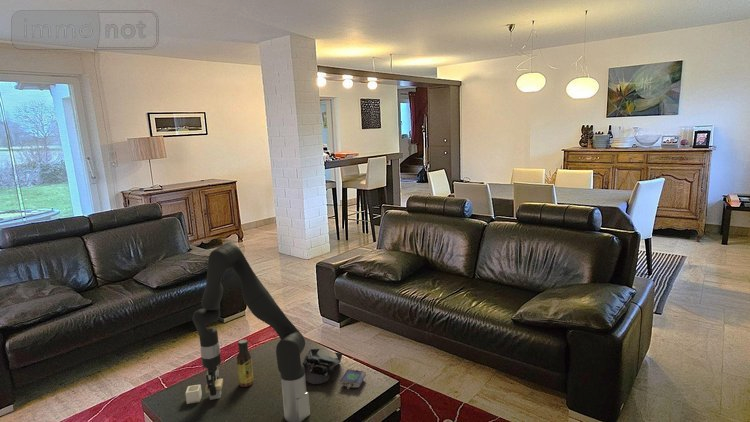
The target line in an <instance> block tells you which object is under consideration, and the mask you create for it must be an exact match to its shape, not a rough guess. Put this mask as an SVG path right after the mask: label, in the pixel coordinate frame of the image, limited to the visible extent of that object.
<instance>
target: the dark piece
mask: <svg viewBox="0 0 750 422" xmlns="http://www.w3.org/2000/svg"><path fill="white" fill-rule="evenodd" d="M320 350H321V349H320V348H312V349H311V348H310V349H309V351H308V352H307V354H306V355H305V356H304V358H303V361H301V363H302V364H303V365H304V367H305V378H306V383H310V384H311V385H320V384H323V383H326V382H329V380H330V378H331V374H332V373H333V372H335V367H336V366H338V365H339V364H341V362H342V357H343V353H341V352H334V354H335V355H336V357H332V356H331V355H323V354H319V353H318V352H319V351H320Z"/></svg>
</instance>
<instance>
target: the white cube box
mask: <svg viewBox="0 0 750 422" xmlns="http://www.w3.org/2000/svg"><path fill="white" fill-rule="evenodd" d="M202 396H203V393H202V384H194V385H188V386H187V387H186V391H185V402H186V405H189V404H197V403H200V402H201V399H202Z"/></svg>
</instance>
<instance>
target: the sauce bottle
mask: <svg viewBox="0 0 750 422" xmlns="http://www.w3.org/2000/svg"><path fill="white" fill-rule="evenodd" d="M248 343H249V342H248V340H247V339H241V340H239V341H237V346H238V353H237V356H236V364H237V365H236V367H237V377H238V384H239V386H240V387H241V388H246V387H247V388H248V387H250V386H252V385H253V383H254V371H253V369H254V368H253V358H252V356H251V354H250V351H249V348H248V346H249V345H248Z"/></svg>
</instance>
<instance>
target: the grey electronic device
mask: <svg viewBox="0 0 750 422" xmlns="http://www.w3.org/2000/svg"><path fill="white" fill-rule="evenodd" d="M366 376H367V372H366V371H364V370H358V369H356V370H354V369H349V368H348V369H347V370H346V371H345V372H344V374H343V375H342V377H341V378H340V380H339V384H340V385H341V386H344V387H346V389H347V390H350V388H360V386H361V385H362V383H363V382H364V379H365V377H366Z"/></svg>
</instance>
